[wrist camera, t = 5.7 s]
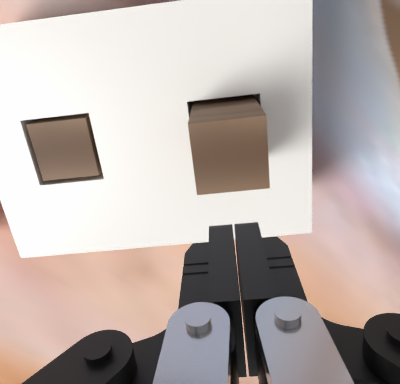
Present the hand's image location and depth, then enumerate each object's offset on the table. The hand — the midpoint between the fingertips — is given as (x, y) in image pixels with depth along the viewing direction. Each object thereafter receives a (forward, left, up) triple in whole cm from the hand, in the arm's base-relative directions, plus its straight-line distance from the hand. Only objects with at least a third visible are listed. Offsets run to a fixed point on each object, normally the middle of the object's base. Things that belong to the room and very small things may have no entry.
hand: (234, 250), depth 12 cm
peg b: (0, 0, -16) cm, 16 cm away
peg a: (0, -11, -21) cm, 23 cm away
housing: (0, -5, -22) cm, 23 cm away
